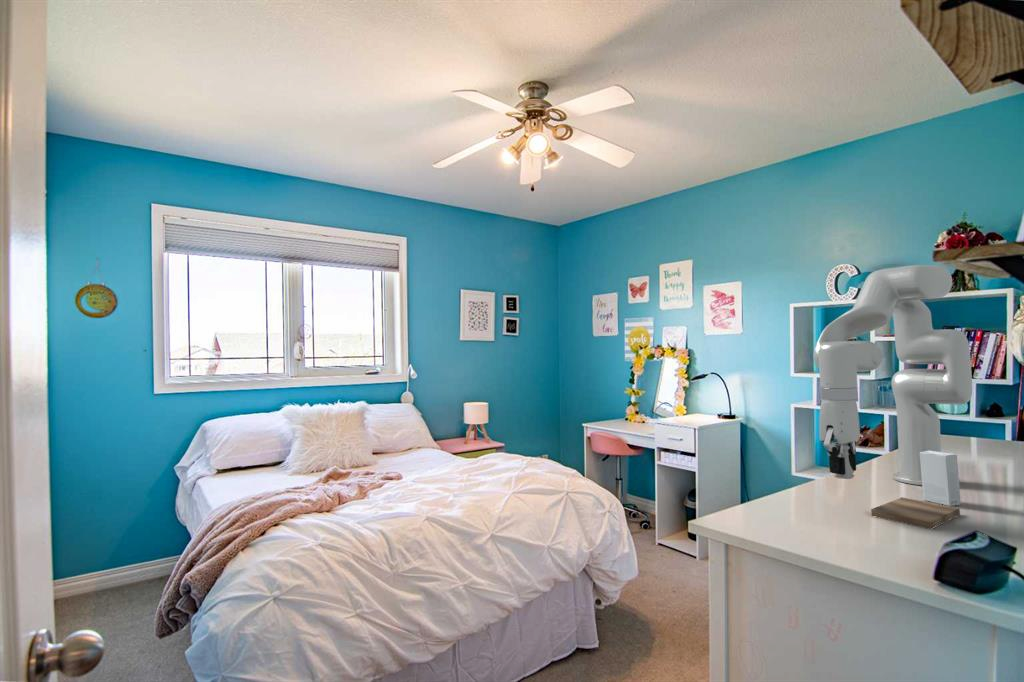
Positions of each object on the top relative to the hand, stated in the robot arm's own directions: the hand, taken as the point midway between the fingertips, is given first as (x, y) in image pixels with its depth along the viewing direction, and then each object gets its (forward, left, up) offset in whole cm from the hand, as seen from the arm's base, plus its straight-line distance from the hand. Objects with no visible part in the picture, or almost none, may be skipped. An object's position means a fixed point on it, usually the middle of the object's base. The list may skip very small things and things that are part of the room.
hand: (843, 470), depth 122 cm
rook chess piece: (0, 0, -2) cm, 2 cm away
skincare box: (-23, +11, -9) cm, 27 cm away
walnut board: (-7, +12, -9) cm, 16 cm away
